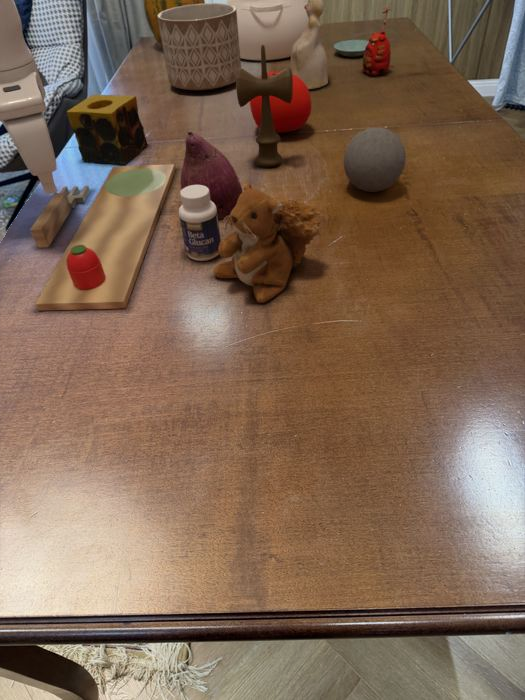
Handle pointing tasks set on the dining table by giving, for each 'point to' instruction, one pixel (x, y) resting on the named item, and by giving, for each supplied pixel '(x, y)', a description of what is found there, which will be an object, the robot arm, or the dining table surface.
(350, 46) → the saucer
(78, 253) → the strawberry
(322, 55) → the figurine
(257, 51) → the pot
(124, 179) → the plate
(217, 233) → the pill bottle
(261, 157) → the kendama
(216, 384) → the dining table surface
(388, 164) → the decorative ball
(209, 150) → the vegetable
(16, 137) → the robot arm
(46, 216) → the tan wooden bar
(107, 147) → the spotted cube with hole
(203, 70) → the planter
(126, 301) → the board
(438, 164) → the dining table surface
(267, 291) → the stuffed squirrel
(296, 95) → the tomato
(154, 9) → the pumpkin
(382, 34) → the red clay folk toy
